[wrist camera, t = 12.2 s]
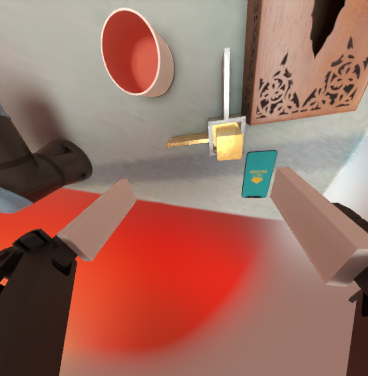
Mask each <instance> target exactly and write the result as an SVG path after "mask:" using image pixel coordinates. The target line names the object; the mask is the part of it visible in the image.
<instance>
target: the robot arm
mask: <svg viewBox="0 0 368 376" xmlns="http://www.w3.org/2000/svg"><path fill="white" fill-rule="evenodd" d="M91 174H92V167H91V163H90V161H89V159H88V158H87V156H86V155H85V154H84V152H83V151H82V150H81V149H80V148H78V147H77V146H76V145H74V144H73V143H71V142H69V141H66V140H55V141H52V142H49V143H48V144H46V145H45V146H44V147H42V148H41V149H39V150H38V151H37V152H35V153H31V151H30V150H29V148H28V146H27V145H26V143H25V142H24V140H23V138H22V137H21V135H20V134H19V132H18V130H17V129H16V127H15V126H14V124H13V122H12V121H11V117H10V116H9V115H7V114H6V112H5V111H4V109H3V108H2V106H1V105H0V212H2V213H14V212H18V211H19V210H22V209H24V208H26V207H28V206H30V205H32V204H33V203H35V202H37V201H39V200H40V199H42V198H44V197H46V196H47V195H49V194H51V193H53V192H54V191H56V190H58V189H59V188H61V187H63V186H65V185H68V184H73V183H77V182H81V181H84V180H86V179H87V178H89V177H90V176H91ZM270 197H271V199H272V200H273V202H274V204H275V205H276V207H277V208H278V210H279V211H280V213H281V215H282V216H283V218H284V219H285V221H286V223H287V224H288V226H289V227H290V229H291V230H292V232H293V234H294V235H295V237H296V238H297V240H298V242H299V243H300V245H301V246H302V248H303V250H304V251H305V253H306V254H307V256H308V257H309V259H310V261H311V262H312V264H313V265H314V267H315V269H316V270H317V272H318V273H319V275H320V277H321V278H322V280H323V281H324V283H325V284H326V285H336V286H348V285H349V284H350V283H351V282H352V281H353V280H354V281H355V282H356V283H357V284H358V286H359V287H360V288H361V290H359V291H358V292H357V293H355V294H354V295H353V296H351V297H350V299H349V301H350V302H352V303H353V302H354V301H356V300H357V302H356V309H355V316H354V324H353V331H352V338H351V346H350V353H349V360H348V367H347V375H346V376H368V222H367V221H366V220H364V219H362V218H361V217H360V216H359V215H358V214H356V213H355V212H354V211H353V210H351V209H349V208H347V207H345V206H343V205H341V204H339V203H331V202H330V201H328V200H327V199H326V198H325V197H324V196H323V195H321V194H320V193H319V192H318V191H317V190H315V189H314V188H313V187H312V186H311V185H309V184H308V183H307V182H306V181H305V180H303V179H302V178H301V177H300V176H299V175H297V174H296V173H295V172H294V171H293V170H291V169H290V168H289V167H281V168H277V170H276V174H275V178H274V183H273V187H272V191H271V196H270ZM136 201H137V200H136V198H135V196H134V194H133V191H132V189H131V187H130V185H129V182H128V180H127V179H120V180H119V181H118V182H116V183H115V184H114V185H113V186H112V187H111V188H110V189H108V190H107V191H106V192H105V193H104V194H103V195H101V196H100V197H99V198H98V199H97V200H96V201H95V202H93V203H92V204H91V205H90V206H89V207H88V208H86V209H85V210H84V211H83V212H82V213H81V214H80V215H78V216H77V217H76V218H75V219H74V220H73V221H72V222H70V223H69V224H68V225H67V226H66V227H65V228H63V229H62V230H61V231H60V232H59V233H58V234H57V235H56V236H55V237H54V238H51V237H50V236H49V235H47V234H46V233H45V232H44V231H43V230H42V229H36V230H33V231H30V232H28V233H26V234H25V235H23V236H21V237H20V238H19V239H17V240H16V241H15V242H14V243H13V245H14V246H12V247H9V248H6V249H4V250H2V251H0V281H1V280H2V279H3V278H6V279H8V282H7V284H6V285H5V286H3V285H1V284H0V376H59V372H60V366H61V359H62V353H63V347H64V340H65V334H66V328H67V321H68V316H69V310H70V303H71V297H72V291H73V285H74V279H75V272H76V266H77V261H76V260H75V258H76V257H77V256H79V257H80V258H81V259H82V260H84V261H92V260H93V259H94V257H95V256H96V255H97V253H98V252H99V251H100V249H101V248H102V246H103V245H104V244H105V243H106V241H107V240H108V239H109V237H110V236H111V235H112V233H113V232H114V230H115V229H116V228H117V226H118V225H119V224H120V222H121V221H122V220H123V218H124V217H125V216H126V214H127V213H128V211H129V210H130V209H131V208H132V206H133V205H134V203H135V202H136Z"/></svg>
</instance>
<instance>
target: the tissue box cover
mask: <svg viewBox="0 0 368 376" xmlns="http://www.w3.org/2000/svg"><path fill="white" fill-rule="evenodd" d="M367 85H368V0H248V6H247V23H246V40H245V57H244V74H243V91H242V108H241V114H243V115H245V116H246V123H247V124H249V125H257V124H264V123H271V122H278V121H285V120H293V119H300V118H307V117H314V116H321V115H328V114H335V113H342V112H350V111H356V109H357V106H358V104H359V102H360V100H361V98H362V95H363V93H364V91H365V89H366V87H367Z"/></svg>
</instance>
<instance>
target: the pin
mask: <svg viewBox="0 0 368 376" xmlns="http://www.w3.org/2000/svg"><path fill="white" fill-rule="evenodd" d="M216 147H217V161H220V160H232V159H242V147H243V133H242V132H241V131H240V130H239V129H238V128H237V126H236V125H235V124H230V125H223V126H217V127H216Z"/></svg>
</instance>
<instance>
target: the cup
mask: <svg viewBox="0 0 368 376" xmlns="http://www.w3.org/2000/svg"><path fill="white" fill-rule="evenodd" d="M101 51H102V57H103V61H104V64H105V67H106V69H107V72H108V74H109V75H110V77H111V79H112V80H113V82H114V83H115V84H116V85H117V86H118V87H119V88H120V89H121V90H122V91H124V92H126V93H128V94H130V95H135V96H148V97H157V96H160V95H162V94H164V93H165V92H166V91H167V90H168V89H169V87H170V85H171V83H172V80H173V76H174V63H173V58H172V54H171V52H170V49H169V47H168V46H167V44H166V43H165V42H164V40H163V39H162V38H161V37H160V36H159V34H158V33H157V32H156V31H155V30H154V28H153V27H152V26H151V25H150V23H149V22H148V21H147V20H146V19H145V18H144V16H143V15H141V14H140V13H139V12H137V11H136V10H133V9H131V8H119V9H116V10H115V11H113V12H112V13H111V14H110V15H109V16H108V18H107V19H106V21H105V23H104V26H103V29H102V34H101Z"/></svg>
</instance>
